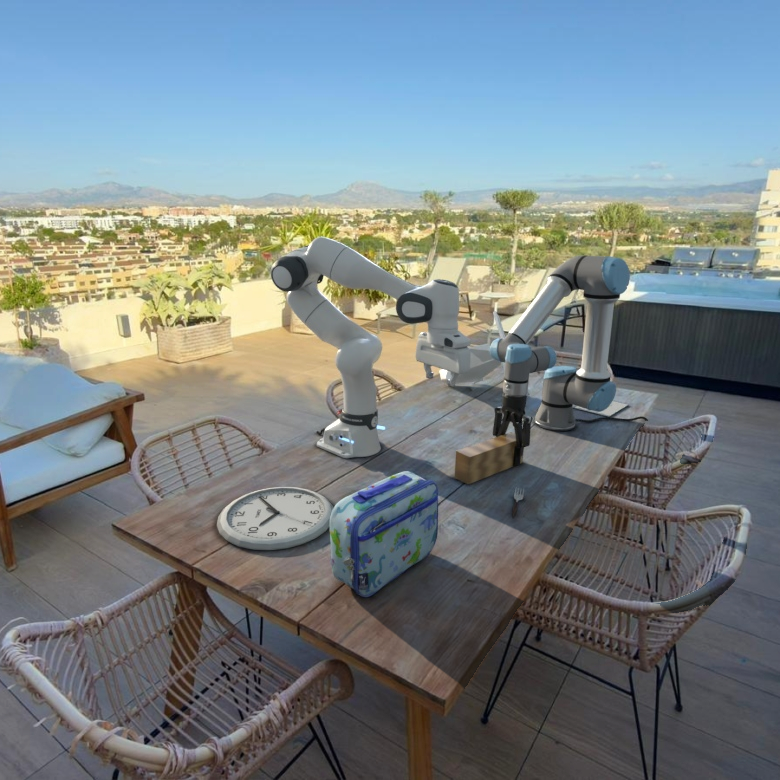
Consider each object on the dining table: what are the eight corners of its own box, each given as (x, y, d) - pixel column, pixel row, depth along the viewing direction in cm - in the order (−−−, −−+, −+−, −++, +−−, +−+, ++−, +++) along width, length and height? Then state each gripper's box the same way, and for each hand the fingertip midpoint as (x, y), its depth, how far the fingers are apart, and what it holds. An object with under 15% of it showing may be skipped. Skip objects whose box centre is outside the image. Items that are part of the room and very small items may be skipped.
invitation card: (608, 416, 214) (573, 407, 224) (608, 416, 214) (573, 408, 224) (628, 404, 229) (594, 396, 238) (628, 405, 229) (594, 397, 238)
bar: (508, 456, 175) (511, 432, 172) (522, 462, 171) (525, 437, 168) (454, 477, 160) (455, 450, 157) (468, 484, 156) (469, 457, 153)
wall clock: (333, 542, 123) (202, 546, 121) (333, 547, 124) (203, 552, 121) (335, 482, 152) (229, 485, 149) (335, 487, 152) (230, 490, 150)
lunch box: (357, 610, 104) (357, 517, 98) (324, 584, 111) (322, 496, 105) (442, 556, 121) (446, 474, 115) (408, 536, 129) (411, 459, 122)
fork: (507, 519, 137) (507, 512, 137) (515, 491, 152) (515, 485, 151) (517, 521, 136) (518, 514, 136) (524, 493, 151) (524, 487, 150)
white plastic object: (461, 429, 252) (437, 405, 227) (444, 352, 274) (420, 323, 250) (535, 404, 240) (518, 377, 215) (510, 326, 262) (492, 293, 237)
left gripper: (411, 331, 159) (409, 375, 163) (459, 343, 143) (456, 391, 147) (426, 329, 162) (425, 372, 166) (475, 341, 147) (472, 388, 151)
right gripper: (484, 388, 169) (479, 454, 175) (531, 403, 154) (524, 474, 161) (499, 384, 173) (494, 449, 180) (547, 399, 159) (539, 468, 166)
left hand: (440, 381), depth 157 cm, fingers open, 8 cm apart
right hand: (508, 461), depth 171 cm, fingers closed on bar, 6 cm apart
